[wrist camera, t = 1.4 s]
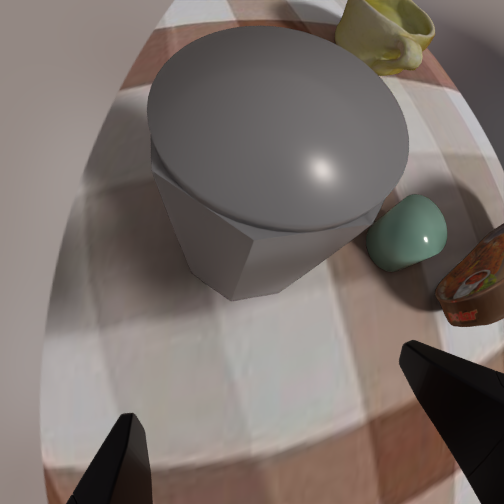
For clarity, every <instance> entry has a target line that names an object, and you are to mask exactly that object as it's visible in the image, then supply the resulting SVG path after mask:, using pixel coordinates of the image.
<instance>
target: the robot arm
mask: <svg viewBox="0 0 504 504" xmlns="http://www.w3.org/2000/svg"><path fill="white" fill-rule="evenodd" d="M399 365H400V367H401V369H402V371H403V373H404V375H405V377H406V379H407V381H408V383H409V385H410V386H411V388H412V390H413V392H414V394H415V396H416V398H417V400H418V401H419V403H420V404H421V406H422V407H423V409H424V410H425V412H426V413H427V415H428V417H429V418H430V420H431V421H432V423H433V424H434V426H435V427H436V429H437V431H438V432H439V434H440V435H441V437H442V438H443V440H444V442H445V443H446V445H447V446H448V448H449V450H450V451H451V453H452V455H453V456H454V458H455V460H456V461H457V463H458V464H459V466H460V468H461V469H462V471H463V473H464V475H465V476H466V478H467V480H468V482H469V483H470V485H471V487H472V488H473V490H474V492H475V494H476V495H477V497H478V499H479V501H480V503H481V504H504V373H501V372H498V371H495V370H492V369H490V368H487V367H484V366H482V365H479V364H476V363H473V362H471V361H468V360H465V359H463V358H460V357H457V356H455V355H452V354H450V353H447V352H444V351H442V350H439V349H436V348H434V347H431V346H429V345H426V344H423V343H421V342H418V341H416V340H411V341H409V342H406V343H404V344H403V346H402V350H401V354H400V358H399ZM66 504H153V500H152V481H151V470H150V463H149V457H148V450H147V443H146V435H145V430H144V428H143V426H142V424H141V423H140V421H139V420H138V418H137V416H136V415H135V414H134V413H124V414H121V415H120V417H119V418H118V420H117V422H116V423H115V425H114V426H113V428H112V430H111V431H110V433H109V434H108V436H107V438H106V439H105V441H104V442H103V444H102V446H101V447H100V449H99V450H98V452H97V454H96V455H95V457H94V459H93V460H92V462H91V463H90V465H89V467H88V468H87V470H86V472H85V473H84V475H83V477H82V478H81V480H80V482H79V483H78V485H77V487H76V488H75V490H74V492H73V495H71V496H70V498H69V500H68V501H67V503H66Z"/></svg>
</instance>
